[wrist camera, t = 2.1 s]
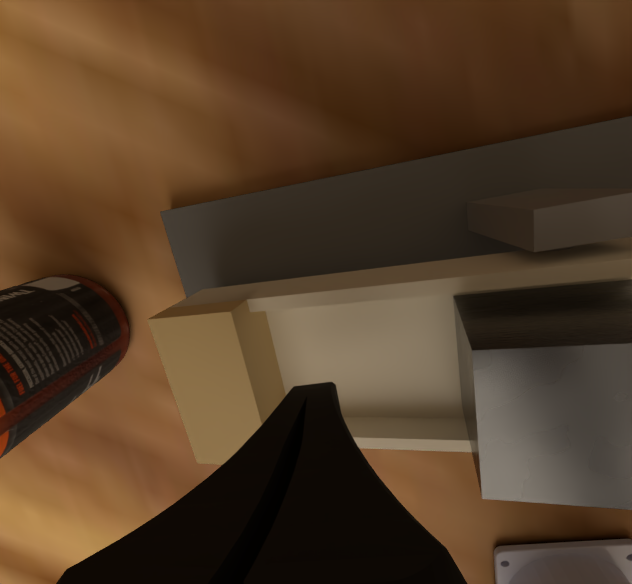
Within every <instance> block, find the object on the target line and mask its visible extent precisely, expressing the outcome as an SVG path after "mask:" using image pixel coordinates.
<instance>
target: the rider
mask: <svg viewBox="0 0 632 584" xmlns="http://www.w3.org/2000/svg"><path fill="white" fill-rule="evenodd" d="M453 302H454V314H455V326H456V338H457V350H458V363H459V375H460V387H461V399H462V409H463V413H464V418H465V422H466V427H467V432H468V436H469V441H470V445H471V450H472V455H473V459H474V464H475V468H476V473H477V477H478V482H479V487H480V491H481V496H482V499H493V500H506V501H520V502H533V503H547V504H560V505H573V506H587V507H600V508H614V509H627V510H632V279H630V280H620V281H609V282H598V283H587V284H576V285H565V286H554V287H543V288H532V289H521V290H510V291H499V292H488V293H477V294H466V295H455V296H453Z"/></svg>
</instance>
